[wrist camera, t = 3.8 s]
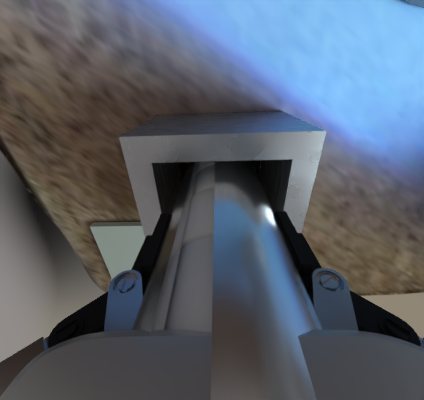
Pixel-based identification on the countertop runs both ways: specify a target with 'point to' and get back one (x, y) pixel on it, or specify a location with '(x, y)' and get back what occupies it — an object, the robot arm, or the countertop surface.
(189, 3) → the countertop surface
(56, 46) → the countertop surface
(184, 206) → the silver tall cylinder
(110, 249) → the mat
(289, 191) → the housing
